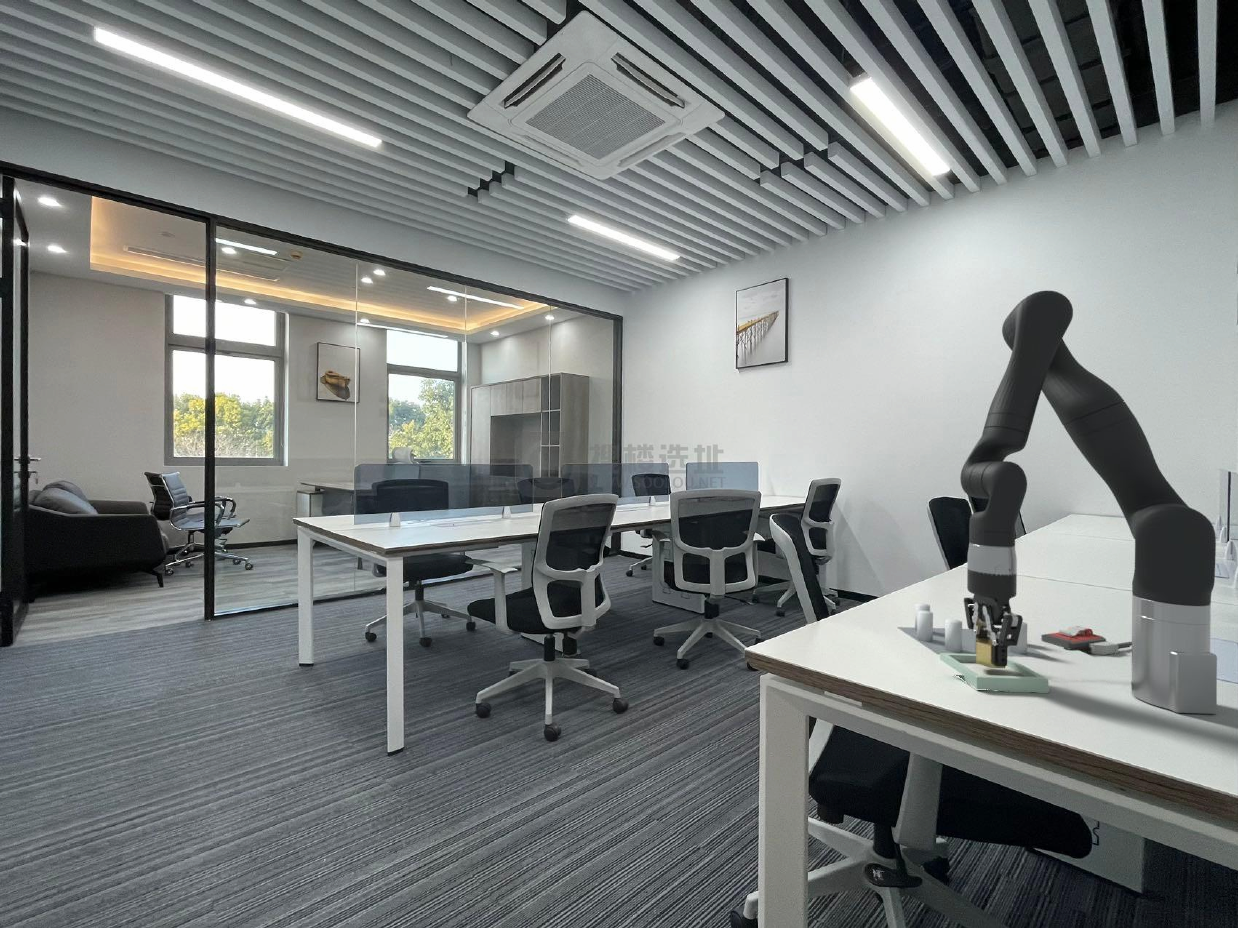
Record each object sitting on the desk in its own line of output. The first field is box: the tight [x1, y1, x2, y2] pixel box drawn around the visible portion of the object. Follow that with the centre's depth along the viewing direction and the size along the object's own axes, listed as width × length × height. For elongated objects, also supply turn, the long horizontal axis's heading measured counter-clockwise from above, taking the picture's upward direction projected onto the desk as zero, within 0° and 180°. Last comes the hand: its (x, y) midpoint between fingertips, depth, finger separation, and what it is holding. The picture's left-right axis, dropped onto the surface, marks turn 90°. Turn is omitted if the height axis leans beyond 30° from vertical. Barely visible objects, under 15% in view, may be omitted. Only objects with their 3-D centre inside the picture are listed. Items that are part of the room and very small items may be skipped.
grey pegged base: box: [896, 602, 1050, 658], centre depth 117 cm, size 18×22×7 cm
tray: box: [939, 653, 1050, 694], centre depth 100 cm, size 12×12×2 cm
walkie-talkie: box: [1040, 625, 1132, 656], centre depth 117 cm, size 9×4×20 cm
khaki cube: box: [975, 638, 1006, 669], centre depth 100 cm, size 4×5×4 cm
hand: (990, 660), depth 100 cm, fingers closed on khaki cube, 4 cm apart
